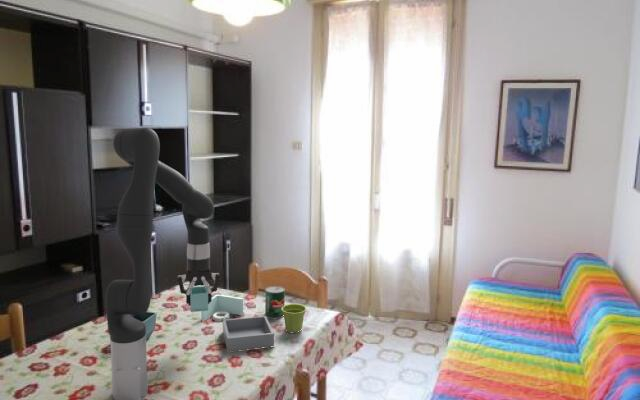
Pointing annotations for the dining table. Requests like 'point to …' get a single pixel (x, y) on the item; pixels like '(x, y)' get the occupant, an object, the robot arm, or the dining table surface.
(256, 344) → the grey open tray
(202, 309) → the teal crate
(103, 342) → the dining table surface
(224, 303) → the right angle wall
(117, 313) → the robot arm
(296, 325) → the plant pot
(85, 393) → the dining table surface
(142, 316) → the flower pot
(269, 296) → the canned tomato
